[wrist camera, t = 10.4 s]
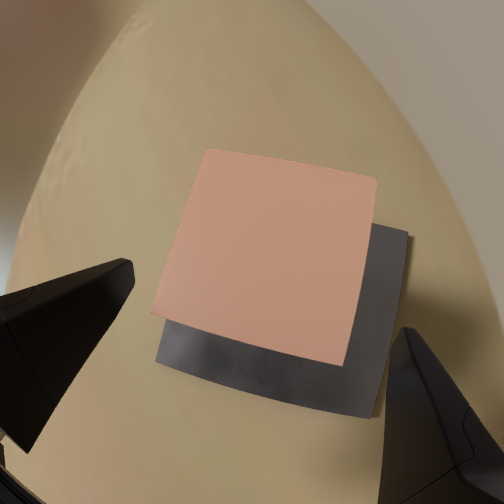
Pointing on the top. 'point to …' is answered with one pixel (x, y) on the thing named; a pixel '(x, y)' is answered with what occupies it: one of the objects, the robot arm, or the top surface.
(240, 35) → the top surface
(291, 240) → the pink-topped tall block
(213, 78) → the top surface
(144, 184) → the top surface
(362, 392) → the post plate
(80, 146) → the top surface
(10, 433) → the robot arm
